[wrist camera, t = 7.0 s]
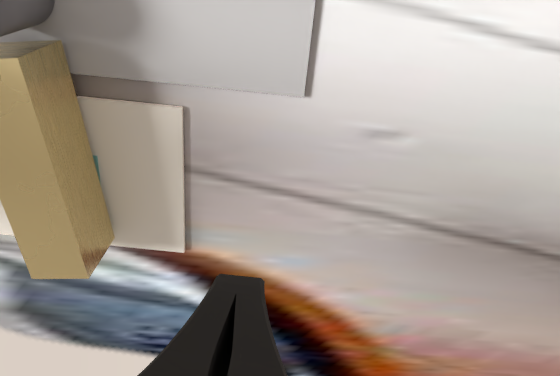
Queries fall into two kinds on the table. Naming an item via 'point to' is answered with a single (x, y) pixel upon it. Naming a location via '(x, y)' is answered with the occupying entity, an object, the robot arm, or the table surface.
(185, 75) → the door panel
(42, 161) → the bar
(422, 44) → the table surface
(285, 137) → the table surface
